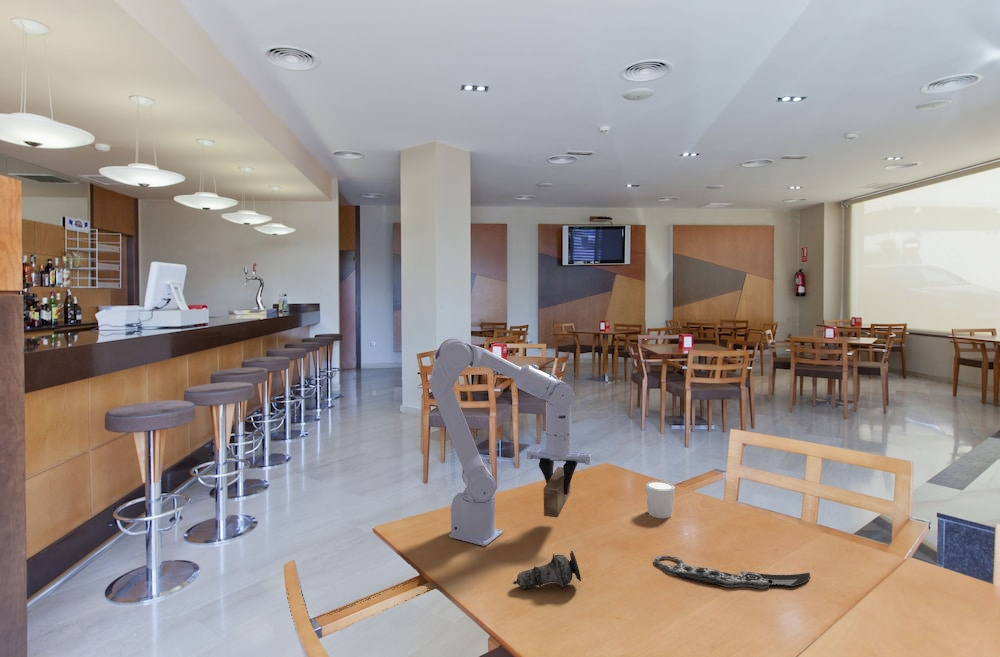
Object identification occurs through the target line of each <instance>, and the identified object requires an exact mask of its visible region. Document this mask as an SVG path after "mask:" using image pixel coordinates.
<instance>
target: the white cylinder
mask: <svg viewBox="0 0 1000 657" xmlns="http://www.w3.org/2000/svg"><path fill="white" fill-rule="evenodd" d="M675 490H676V487H675V485H674V484H672V483H670V482H666V481H658V480H657V481H656V480H655V481H648V482H646V483H645V494H646V505H647V513H649V514H650V515H649V514H648V515H649V516H651V517H652V518H657V519H669V518H671V517H672V516H673V508H674V499H675Z"/></svg>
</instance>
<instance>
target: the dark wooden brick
mask: <svg viewBox="0 0 1000 657" xmlns="http://www.w3.org/2000/svg"><path fill="white" fill-rule="evenodd" d="M570 494H571V486H570V487H569V493H568V494H567V495H565V494H564V469H563V467H560V466H557V468H556V469H555V470H554V471H553V475H552V477H551V478H550V480H549V481H548V483H547V484H546V483H545V485H544V487H543V516H544V517H549V518H558V517H559V516H560V513H561V512H562V509H563V508H564V505H565V504H566V502H567V500H568V499H569V496H570Z"/></svg>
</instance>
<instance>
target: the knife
mask: <svg viewBox="0 0 1000 657" xmlns="http://www.w3.org/2000/svg"><path fill="white" fill-rule="evenodd" d="M664 559H669V560H672V561H673V562H676V563H677V564H676V565H671V564H670V565H669V564H665V563H663V562H661V561H662V560H664ZM653 565H654V566H656V567H658V568H659V569H661V570H662V571H664V572H665V573H666V574H669V575H671V576H673V577H682V578H687V579H691V580H693V581H700V582H703V583H709V584H715V585H720V586H721V587H724V588H732V589H733V588H741V587H742V588H755V589H760V590H762V589H768V588H769V586H770V587H772V586H773V585H774V586H775V585H778V586H789V587H793V586H798V585H801V584H803V583H805V582H807V581H808V580H809V579H810V577H811V573H810V572H804V573H797V574H795V573H792V574H769V573H760V572H759V573H758V572H752V571H746V570H745V571H744V570H742V571H740V573H739V574H738V573H737V574H736V573H728V572H724V571H721V570H717V569H714V568H708V567H699V566H697V567H696V566H690V565H686V564H685V562H684V561H683V560H682V559H681V558H679V557H676V556H673V555H658V556H656V557H654V559H653Z"/></svg>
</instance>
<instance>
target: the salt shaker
mask: <svg viewBox="0 0 1000 657" xmlns="http://www.w3.org/2000/svg"><path fill="white" fill-rule="evenodd" d="M569 557H570V559H569V558H568V557H567V556H565V555H564V554H559V553H558V554H555V553H553V554H552V558H551V560H550V562H548V563H547V564H542V565H539V566H536V565H534V566H533V568H531V569H527V570H524V571H520V572H519V573H518V574H517V578H516V580H514V581H513V582H512V584H513V585H516V584H517V585H518V586H519V588H520V589H521V590H526V589H530V588H533V587H537V586H538V587H539V588H541V587H542V585H545V584H550V583H557V584H558V585H559V586H560V587H561V588H562V589H564V586H567V585H569V584H570V583H571V582H572V580H573V576H575V578H576V579H577V580H578V581H579V582H581V581H582V577H581V573H580V569H579V565H578V561H577V559H576V558H577V557H576V556H575V553H574V551H573V550H570V553H569Z"/></svg>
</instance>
